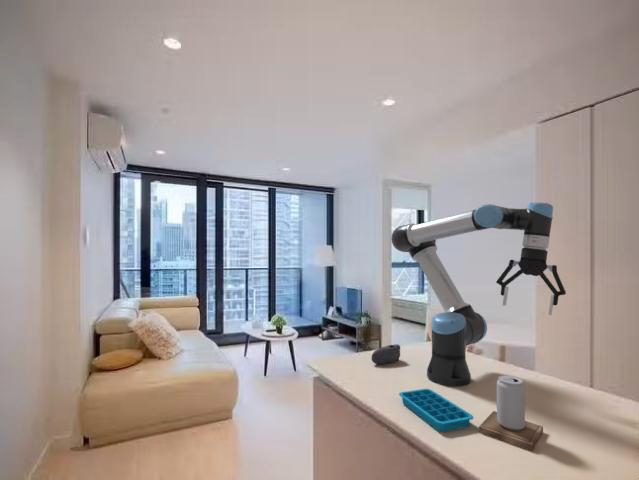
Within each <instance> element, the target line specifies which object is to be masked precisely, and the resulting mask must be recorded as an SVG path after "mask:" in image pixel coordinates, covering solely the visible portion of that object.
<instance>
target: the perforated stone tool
mask: <svg viewBox="0 0 639 480" xmlns="http://www.w3.org/2000/svg"><path fill="white" fill-rule="evenodd" d="M400 357H401V345H400V344H398V343H397V344H389V345H385V346H383V347H380V348H378V349H376V350H374V352H373V353H372V355H371V361H372V363H374V364H376V365H387V364H392V363H395V362H399V361H400Z"/></svg>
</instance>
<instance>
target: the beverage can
mask: <svg viewBox="0 0 639 480" xmlns="http://www.w3.org/2000/svg"><path fill="white" fill-rule="evenodd" d="M525 390H526V389H525V385H524V381H523V380H522V379H520V378H519V377H516V376H511V375H499V376H498V377H497V381H496V412H497V421H498V422H499V423H500V425H501V426H502V427H504V428H506V429H510V430H521V429H523V428H524V427H525V421H526V396H525V394H526V393H525V392H526V391H525Z"/></svg>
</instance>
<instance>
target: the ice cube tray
mask: <svg viewBox="0 0 639 480" xmlns="http://www.w3.org/2000/svg"><path fill="white" fill-rule="evenodd" d="M398 395H399V396H400V398H402V404H403V405H404V406H406V408H408V409H409V410H410V411H412V412H413V413H414V414H416V415H417V416H418V417H419V418H420V419H422V420H424V421H425V422H426V423H427V424H428V425H430V426H431V427H433V428H434V429H435V430H436V431H438V432H443V433H445V432H449V431H453V430H454V431H455V430H459V429H464V428H469V426H470V421H471V420H473V419H474V416H473V414H471V413H470V412H468V411H466V410H465V409H463V408H462V407H460V406H458V405H457V404H455V403H454V402H452V401H450V400H448V399H447V398H446V397H444V396H442V395H441V394H439V393H437V392H436V391H434V390H433V389H430V388H421V389H420V388H419V389H414V390H407V391H402V392H401V391H400V392H399V393H398Z"/></svg>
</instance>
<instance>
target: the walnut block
mask: <svg viewBox="0 0 639 480" xmlns="http://www.w3.org/2000/svg"><path fill="white" fill-rule="evenodd" d="M478 433H479V434H482V435H485V436H488V437H491V438H494V439H497V440H499V441H502V442H504V443H507V444H510V445H513V446H515V447H518V448H522V449H524V450H527V451H530V452H533V451H534V450H535V448H536V446H537V445H538V442H539V440H540V438H541V436H543V435H542V434H543V433H544V426H543V425H541V424H537V423H534V422H530V421H527V420H525V427H524V428H523V429H521V430H510V429H506V428H504V427H502V426H501V425H500V423H499V422H498V421H497V411H495V410H492V412H491V413H490V414H489V415H488V416H487V417H486V419H484V420H483V422H482V423H481V424H480V425H478Z"/></svg>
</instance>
